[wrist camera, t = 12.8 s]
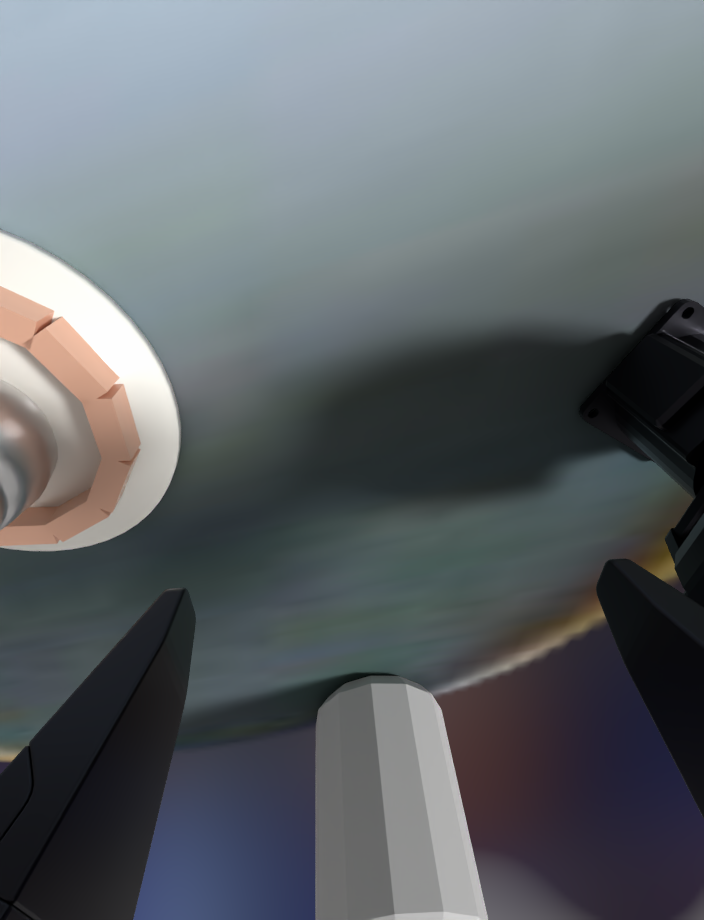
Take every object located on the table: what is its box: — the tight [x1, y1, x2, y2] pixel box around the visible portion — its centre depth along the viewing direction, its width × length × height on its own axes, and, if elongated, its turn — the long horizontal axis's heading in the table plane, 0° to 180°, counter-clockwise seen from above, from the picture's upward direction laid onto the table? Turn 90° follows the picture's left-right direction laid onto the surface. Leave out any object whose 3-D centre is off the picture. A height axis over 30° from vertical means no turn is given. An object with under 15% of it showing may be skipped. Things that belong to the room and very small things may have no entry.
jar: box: [316, 676, 488, 920], centre depth 29 cm, size 10×10×18 cm
